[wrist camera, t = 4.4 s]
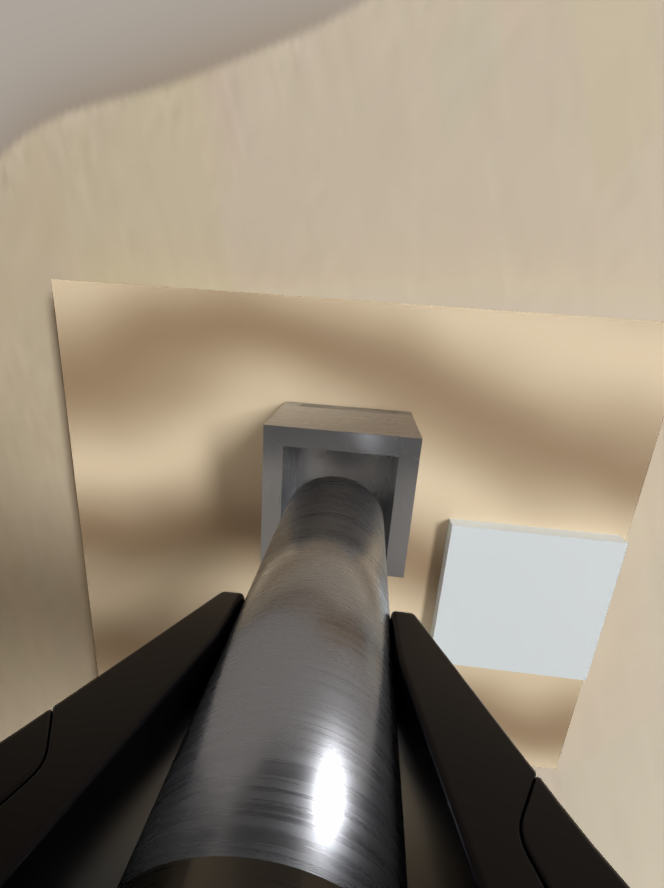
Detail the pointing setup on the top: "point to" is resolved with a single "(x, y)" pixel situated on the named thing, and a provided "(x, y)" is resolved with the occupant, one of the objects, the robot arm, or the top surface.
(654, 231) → the top surface
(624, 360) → the board
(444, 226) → the top surface
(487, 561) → the coaster
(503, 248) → the top surface
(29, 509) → the top surface
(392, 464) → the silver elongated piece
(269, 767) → the metal cylinder
